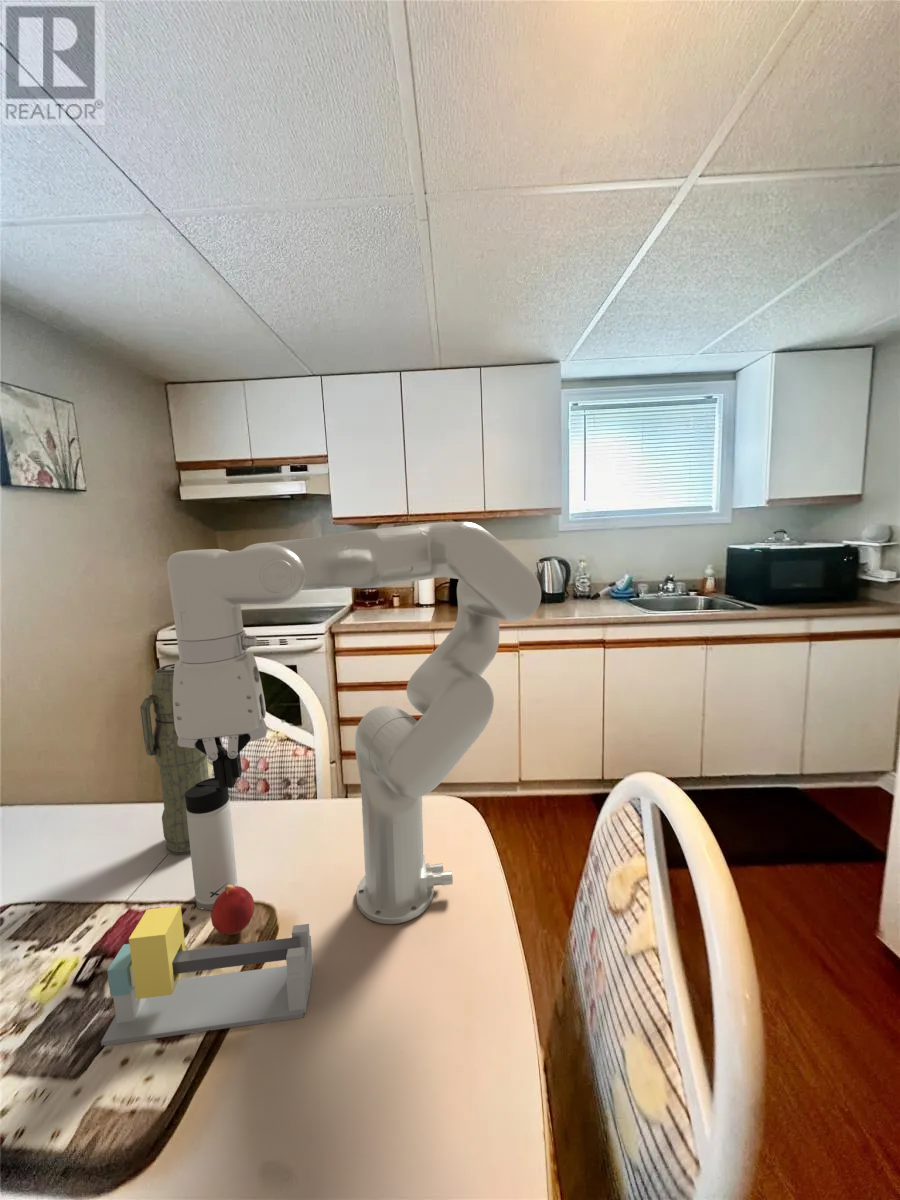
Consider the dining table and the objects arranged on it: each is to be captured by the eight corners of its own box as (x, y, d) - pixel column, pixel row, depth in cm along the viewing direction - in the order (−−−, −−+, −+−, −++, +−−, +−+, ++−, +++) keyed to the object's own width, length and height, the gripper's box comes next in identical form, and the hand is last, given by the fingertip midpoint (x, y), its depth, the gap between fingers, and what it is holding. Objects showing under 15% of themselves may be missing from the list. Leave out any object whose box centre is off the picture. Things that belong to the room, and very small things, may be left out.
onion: (244, 911, 76) (240, 865, 75) (263, 929, 72) (259, 882, 71) (206, 935, 71) (201, 887, 70) (225, 956, 68) (220, 906, 67)
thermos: (233, 830, 96) (218, 661, 91) (176, 866, 86) (155, 679, 81) (206, 817, 101) (190, 656, 95) (148, 851, 90) (126, 672, 85)
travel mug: (223, 914, 75) (212, 796, 72) (187, 908, 77) (174, 791, 74) (247, 885, 81) (238, 775, 78) (213, 880, 83) (202, 771, 80)
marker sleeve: (187, 962, 62) (180, 905, 61) (172, 994, 58) (165, 934, 57) (154, 966, 62) (147, 909, 60) (136, 999, 57) (128, 938, 56)
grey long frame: (313, 966, 66) (309, 912, 65) (305, 1016, 59) (300, 958, 58) (132, 989, 63) (125, 933, 62) (101, 1045, 56) (92, 984, 55)
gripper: (279, 636, 65) (292, 762, 68) (160, 645, 62) (178, 776, 65) (269, 650, 58) (284, 790, 61) (133, 662, 55) (156, 807, 58)
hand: (229, 782), depth 63 cm, fingers closed
